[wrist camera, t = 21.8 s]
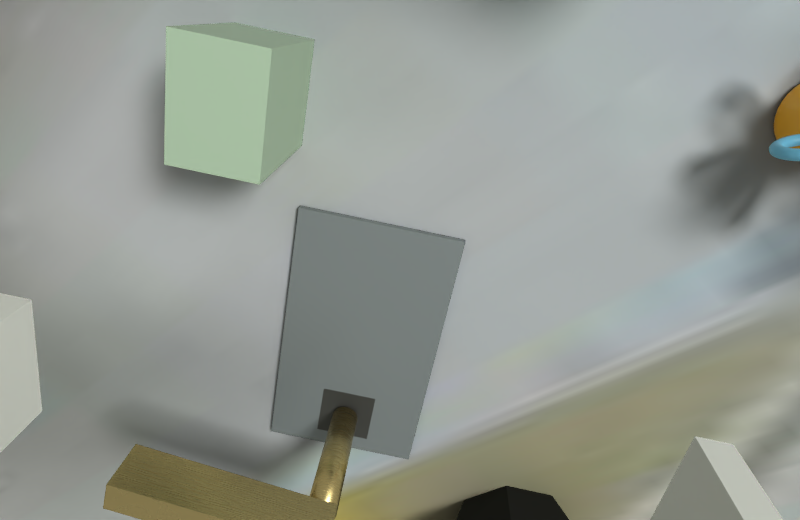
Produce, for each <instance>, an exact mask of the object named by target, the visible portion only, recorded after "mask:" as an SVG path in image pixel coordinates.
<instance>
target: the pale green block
mask: <svg viewBox="0 0 800 520" xmlns="http://www.w3.org/2000/svg"><path fill="white" fill-rule="evenodd" d="M314 40H315V39H310V38H305V37H300V36H296V35H291V34H286V33H282V32H277V31H272V30H267V29H263V28H258V27H253V26H248V25H244V24H239V23H217V24H199V25H181V26H166V69H165V134H164V165H169V166H173V167H178V168H183V169H188V170H192V171H197V172H202V173H207V174H211V175H216V176H221V177H226V178H231V179H235V180H240V181H245V182H250V183H254V184H259V185H260V184H261V183H262V182H263V181H264V180H265V179H266V178H267V177H268V176H269V175H271V174H272V173H273V172H274V171H275V170H276V169H277V168H278V167H279V166H280V165H281V164H282V163H283V162H285V161H286V160H287V159H288V158H289V157H290V156H291V155H292V154H293V153H294V152H295V151H296V150H298V149H299V148H300V147H301V146H302V140H303V132H304V123H305V115H306V107H307V98H308V90H309V82H310V73H311V65H312V57H313V48H314Z"/></svg>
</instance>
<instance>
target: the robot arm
mask: <svg viewBox="0 0 800 520" xmlns="http://www.w3.org/2000/svg"><path fill="white" fill-rule="evenodd" d="M41 412H42V402H41V391H40V381H39V371H38V360H37V350H36V339H35V329H34V319H33V308H32V300H31V299H26V298H21V297H17V296H12V295H7V294H2V293H0V452H1V451H3V450H4V449H5V448H6V447H7V446H8V445H9V444H10V443H11V442H12V441H13V440H14V439H15V438H16V437H17V436H18V435H19V434H20V433H21V432H22V431H23V430H24V429H25V428H26V427H27V426H28V425H29V424H30V423H31V422H32V421H33V420H34V419H35V418H36V417H37V416H38V415H39V414H40V413H41ZM651 520H783V519H782V517H781V516H780V514H779V513H778V511H777V510H776V508H775V507H774V505H773V504H772V502H771V501H770V499H769V497H768V496H767V494H766V493H765V491H764V490H763V488H762V487H761V485H760V484H759V482H758V481H757V479H756V478H755V476H754V475H753V473H752V472H751V470H750V469H749V467H748V466H747V464H746V463H745V461H744V460H743V458H742V457H741V455H740V454H739V452H738V451H737V449H736V448H735V446H734V445H733V444H730V443H725V442H720V441H715V440H710V439H705V438H701V437H696V436H695V437H694V439H693V441H692V443H691V445H690V447H689V448H688V450H687V452H686V454H685V456H684V458H683V460H682V462H681V463H680V465H679V467H678V469H677V471H676V473H675V475H674V476H673V478H672V480H671V482H670V484H669V486H668V488H667V490H666V491H665V493H664V495H663V497H662V499H661V501H660V503H659V505H658V506H657V508H656V510H655V512H654V514H653V516H652V518H651Z"/></svg>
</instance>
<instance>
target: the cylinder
mask: <svg viewBox="0 0 800 520" xmlns="http://www.w3.org/2000/svg"><path fill="white" fill-rule="evenodd" d="M774 134H775V136H776V141H774V142H773V143H772V144H771V145H770V147H769V152H770V154H771V155H772V156H773V157H775V158H778V159H782V160H788V161H800V84H799V85H797V86H796V87H795V88H793V89H792V90H791V91H790V92H789V93H788V94H787V95H786V97H785V98H784V99H783V100H782V102H781V104H780V106H779V107H778V109H777V112H776V115H775V119H774Z"/></svg>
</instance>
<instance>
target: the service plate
mask: <svg viewBox="0 0 800 520" xmlns="http://www.w3.org/2000/svg"><path fill="white" fill-rule="evenodd" d="M464 245H465V240H463V239H459V238H454V237H449V236H444V235H439V234H435V233H430V232H425V231H420V230H415V229H411V228H406V227H401V226H396V225H392V224H387V223H382V222H377V221H372V220H368V219H363V218H358V217H353V216H348V215H344V214H339V213H334V212H329V211H324V210H320V209H315V208H310V207H305V206H300V207H299V209H298V217H297V225H296V233H295V241H294V249H293V257H292V266H291V274H290V282H289V290H288V298H287V306H286V314H285V323H284V331H283V339H282V347H281V355H280V363H279V371H278V380H277V388H276V396H275V404H274V412H273V420H272V429H271V431H273V432H278V433H283V434H287V435H292V436H297V437H302V438H307V439H312V440H317V441H322V442H325V440H326V437H327V433H328V430H329V426H330V423H331V419H332V416H333V413H334V411H335V410H336V409H337V408H339V407H348V408H351V409H353V410H354V411H355V412H356V414H357V423H356V428H355V432H354V437H353V441H352V446H351V448H356V449H361V450H366V451H370V452H375V453H380V454H385V455H390V456H395V457H400V458H405V459H409V455H410V451H411V447H412V443H413V440H414V436H415V432H416V428H417V424H418V421H419V417H420V413H421V409H422V405H423V401H424V398H425V394H426V390H427V386H428V382H429V379H430V375H431V371H432V367H433V363H434V360H435V356H436V352H437V348H438V344H439V340H440V337H441V333H442V329H443V325H444V321H445V318H446V314H447V310H448V306H449V302H450V299H451V295H452V291H453V287H454V283H455V279H456V276H457V272H458V268H459V264H460V260H461V257H462V253H463V249H464Z"/></svg>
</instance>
